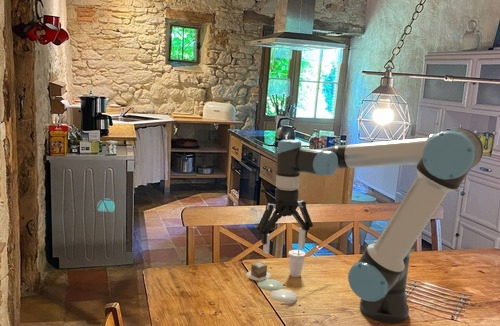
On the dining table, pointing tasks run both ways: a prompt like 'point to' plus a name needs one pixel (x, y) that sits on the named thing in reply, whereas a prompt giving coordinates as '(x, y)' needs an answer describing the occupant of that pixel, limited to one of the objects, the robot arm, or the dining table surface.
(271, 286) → the saucer mid
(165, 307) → the dining table surface
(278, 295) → the saucer near
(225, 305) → the dining table surface
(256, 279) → the saucer far
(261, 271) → the letter cube
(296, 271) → the smoothie
